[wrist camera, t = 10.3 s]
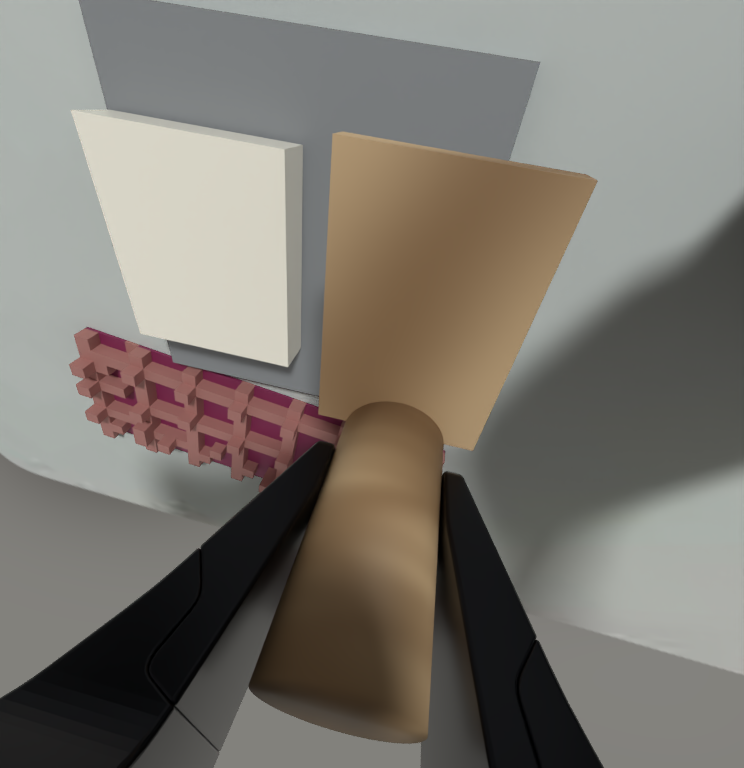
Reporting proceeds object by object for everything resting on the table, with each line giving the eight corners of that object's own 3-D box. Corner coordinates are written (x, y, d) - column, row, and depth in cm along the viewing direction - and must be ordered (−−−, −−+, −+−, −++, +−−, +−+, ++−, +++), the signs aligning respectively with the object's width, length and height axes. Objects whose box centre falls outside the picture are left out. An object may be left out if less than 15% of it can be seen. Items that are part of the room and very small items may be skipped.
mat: (536, 64, 9) (540, 62, 9) (427, 412, 17) (426, 421, 16) (93, -6, 10) (75, -12, 9) (180, 355, 17) (173, 362, 17)
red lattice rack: (82, 317, 18) (47, 337, 16) (445, 443, 18) (443, 473, 17) (109, 416, 22) (84, 438, 21) (399, 514, 23) (395, 544, 21)
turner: (586, 175, 6) (1129, 475, 1) (455, 471, 10) (449, 765, 6) (343, 131, 6) (-68, 221, 1) (322, 439, 11) (215, 694, 6)
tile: (284, 149, 9) (70, 109, 10) (288, 367, 14) (140, 333, 14) (304, 144, 11) (113, 109, 11) (302, 345, 15) (165, 315, 15)
